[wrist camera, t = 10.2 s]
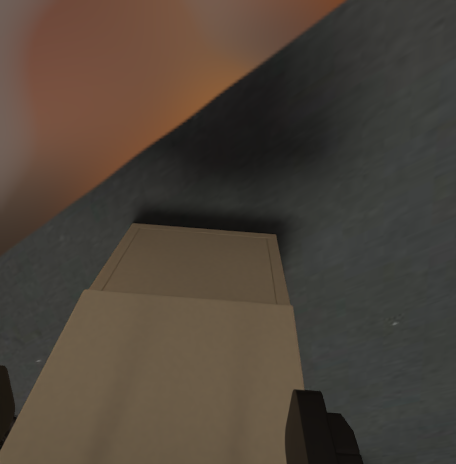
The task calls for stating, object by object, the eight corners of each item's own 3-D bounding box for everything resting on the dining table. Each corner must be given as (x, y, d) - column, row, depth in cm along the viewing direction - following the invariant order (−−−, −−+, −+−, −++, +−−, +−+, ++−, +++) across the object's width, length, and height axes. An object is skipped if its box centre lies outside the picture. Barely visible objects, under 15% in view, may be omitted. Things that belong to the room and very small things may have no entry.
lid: (345, 739, 10) (421, 713, 7) (-118, 705, 9) (-256, 662, 6) (290, 315, 21) (308, 236, 18) (85, 299, 21) (70, 217, 18)
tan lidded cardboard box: (258, 363, 36) (264, 462, 27) (136, 354, 36) (102, 450, 27) (276, 234, 31) (290, 305, 22) (132, 222, 31) (87, 289, 22)
